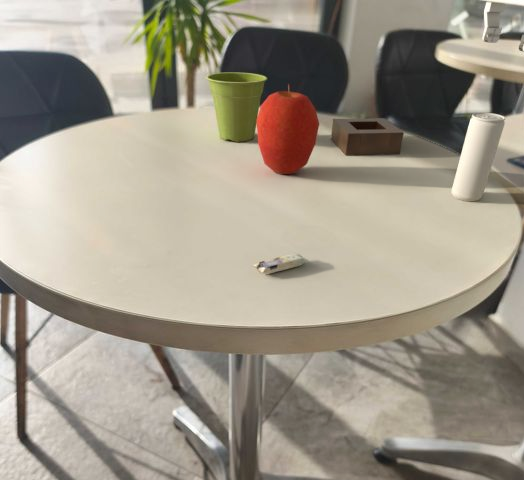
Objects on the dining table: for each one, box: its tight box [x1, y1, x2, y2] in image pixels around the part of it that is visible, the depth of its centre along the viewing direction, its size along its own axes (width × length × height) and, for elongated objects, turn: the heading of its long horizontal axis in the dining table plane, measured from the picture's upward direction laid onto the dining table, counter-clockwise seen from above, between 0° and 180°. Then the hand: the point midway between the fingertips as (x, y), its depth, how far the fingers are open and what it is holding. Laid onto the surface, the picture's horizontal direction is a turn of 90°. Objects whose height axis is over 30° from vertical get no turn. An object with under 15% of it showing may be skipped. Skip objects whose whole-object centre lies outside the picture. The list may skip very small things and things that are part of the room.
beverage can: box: [450, 112, 506, 202], centre depth 76 cm, size 5×5×12 cm
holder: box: [330, 117, 405, 156], centre depth 99 cm, size 11×11×4 cm
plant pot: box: [205, 71, 268, 143], centre depth 99 cm, size 12×12×11 cm
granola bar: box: [251, 253, 310, 275], centre depth 59 cm, size 7×2×1 cm, turn 119°
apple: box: [256, 84, 320, 175], centre depth 82 cm, size 10×10×14 cm
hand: (507, 46), depth 67 cm, fingers open, 8 cm apart
